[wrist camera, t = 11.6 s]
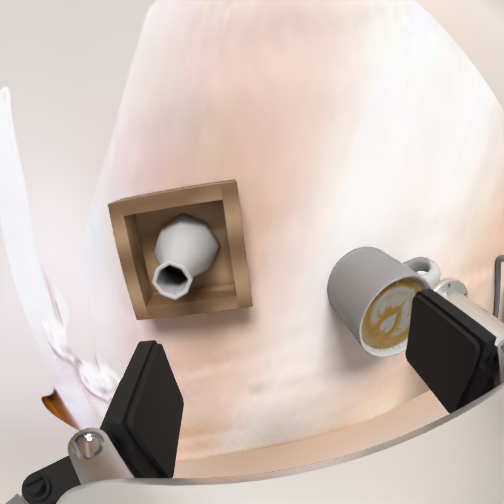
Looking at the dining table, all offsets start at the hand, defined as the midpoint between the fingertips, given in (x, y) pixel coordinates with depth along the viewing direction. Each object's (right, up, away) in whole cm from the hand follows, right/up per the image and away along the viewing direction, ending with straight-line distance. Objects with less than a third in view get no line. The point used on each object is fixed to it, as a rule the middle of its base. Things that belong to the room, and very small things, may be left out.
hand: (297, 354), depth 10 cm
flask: (-9, +4, +22) cm, 25 cm away
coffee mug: (+15, 0, +27) cm, 31 cm away
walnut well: (-9, +4, +23) cm, 25 cm away
